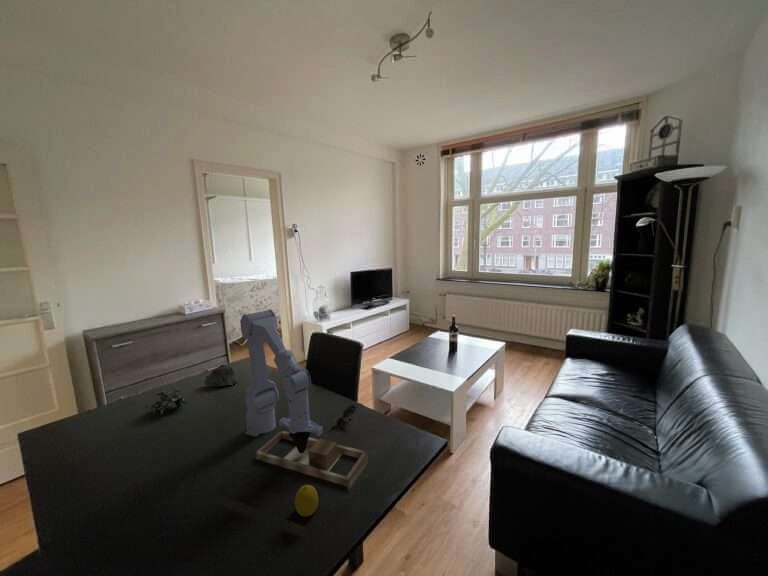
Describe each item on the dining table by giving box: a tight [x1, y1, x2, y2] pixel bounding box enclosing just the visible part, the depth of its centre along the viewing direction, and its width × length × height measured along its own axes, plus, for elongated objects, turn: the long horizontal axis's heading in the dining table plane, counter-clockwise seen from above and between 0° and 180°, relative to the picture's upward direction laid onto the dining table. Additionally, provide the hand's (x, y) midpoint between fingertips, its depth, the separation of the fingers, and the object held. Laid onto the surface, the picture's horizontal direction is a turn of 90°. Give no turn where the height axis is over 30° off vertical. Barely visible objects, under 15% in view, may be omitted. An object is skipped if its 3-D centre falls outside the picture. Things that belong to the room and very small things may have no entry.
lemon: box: [294, 484, 319, 518], centre depth 79 cm, size 6×6×8 cm
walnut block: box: [308, 438, 338, 471], centre depth 96 cm, size 6×6×5 cm
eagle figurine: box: [333, 404, 357, 429], centre depth 117 cm, size 8×7×9 cm
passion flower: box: [145, 387, 188, 416], centre depth 129 cm, size 11×11×12 cm
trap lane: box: [254, 430, 369, 492], centre depth 98 cm, size 32×12×4 cm, turn 68°
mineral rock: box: [203, 364, 239, 387], centre depth 152 cm, size 13×11×10 cm
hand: (302, 451), depth 99 cm, fingers closed
